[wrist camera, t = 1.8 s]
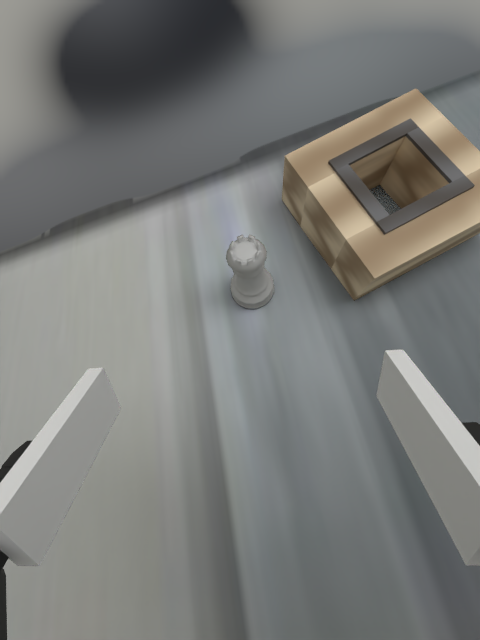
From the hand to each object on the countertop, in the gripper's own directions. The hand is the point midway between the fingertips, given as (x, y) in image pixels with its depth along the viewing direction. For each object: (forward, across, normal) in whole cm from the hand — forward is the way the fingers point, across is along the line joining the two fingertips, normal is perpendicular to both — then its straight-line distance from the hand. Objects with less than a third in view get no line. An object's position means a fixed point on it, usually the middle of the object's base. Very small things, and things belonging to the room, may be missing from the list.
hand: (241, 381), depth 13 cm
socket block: (+22, +14, +2) cm, 26 cm away
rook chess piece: (+17, 0, -3) cm, 17 cm away
